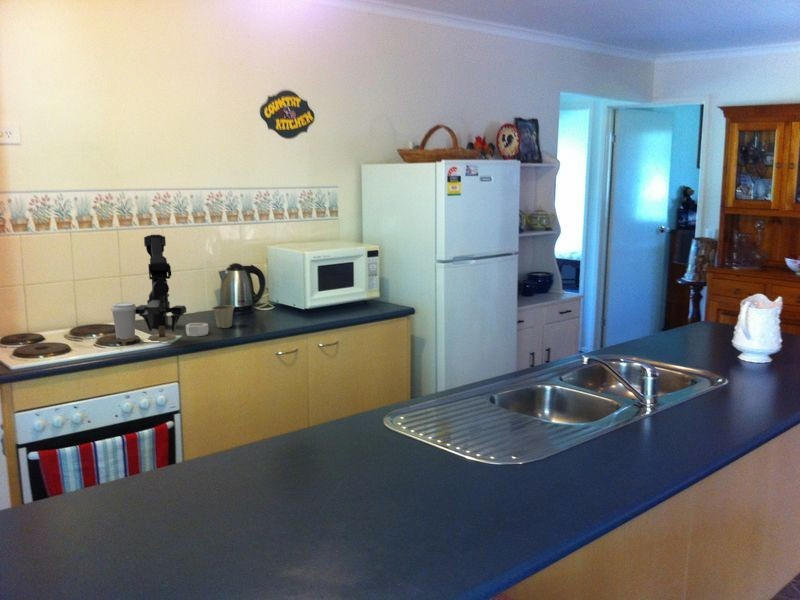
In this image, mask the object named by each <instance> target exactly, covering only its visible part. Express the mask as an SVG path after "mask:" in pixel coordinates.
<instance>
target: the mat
mask: <svg viewBox="0 0 800 600" xmlns="http://www.w3.org/2000/svg"><path fill="white" fill-rule="evenodd" d="M181 338H183V335H175V339H172V340H167V341H159V342H168V343H167V344H173V343H174V342H176V341H178V340H180V339H181ZM146 339H148V340H149V337H147V338H146ZM151 341H152V340H151Z"/></svg>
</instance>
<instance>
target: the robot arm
mask: <svg viewBox="0 0 800 600" xmlns="http://www.w3.org/2000/svg"><path fill="white" fill-rule="evenodd" d="M166 241H167V240H166V236H165V235H162V234H150V235H147V236H144V237H143V243H144V244H143V245H144V247H145V248H146V249H145V250H146V252H147V254H148V255H149V256H150V258H149V263H148V278H149V280H151V291H150V293H149V294H148V299H147V300H146V301H147V304H140V305H137V306H136V307H137V309H136V315H138V316H139V317H142V319H144V322H145V323H146V325H147V328H148V330H149V332H152V331H153V329H159V326H165V328H166V327H168V326H169V316H168V315H167V314H169V313H171V315H170V317H171V330H172V333H173V332H174V333H175V329H176V327H177V324H178V321H179V319H181V318H180V317H181V316H182V315H184V314H186V313H187V307H186V305H174V306H172V307H170V306H171V305H170V301H169V297H170V294H169V291H170V288H169V284H168V280H169V279H171V277H172V269H171V268H172V267H171V265H170V263H168V261H167V258H166V257H165V256H163V255H164V254H163V253H164V251H165V247H166V244H167V243H166ZM167 279H168V280H167Z"/></svg>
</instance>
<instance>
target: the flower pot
mask: <svg viewBox="0 0 800 600" xmlns="http://www.w3.org/2000/svg"><path fill="white" fill-rule="evenodd" d="M235 308H236V307H235V306H234V305H226V304H225V305H216V306H213V307H211V309H212V311H213V313H214V318H215V323H216V327H217V328H218V329H220V328H221V329H229V328H231V327H232V326H233V325H232V324H233V317H234V316H233V313H234V310H235Z"/></svg>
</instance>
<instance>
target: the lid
mask: <svg viewBox="0 0 800 600" xmlns="http://www.w3.org/2000/svg"><path fill="white" fill-rule="evenodd" d="M175 336H176V334H174V333H166V327H165V326H159V328H158V333H157V334H151V335H150V336H149V335H148V338H149V340H152V341H167V340H172V339H175Z"/></svg>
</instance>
